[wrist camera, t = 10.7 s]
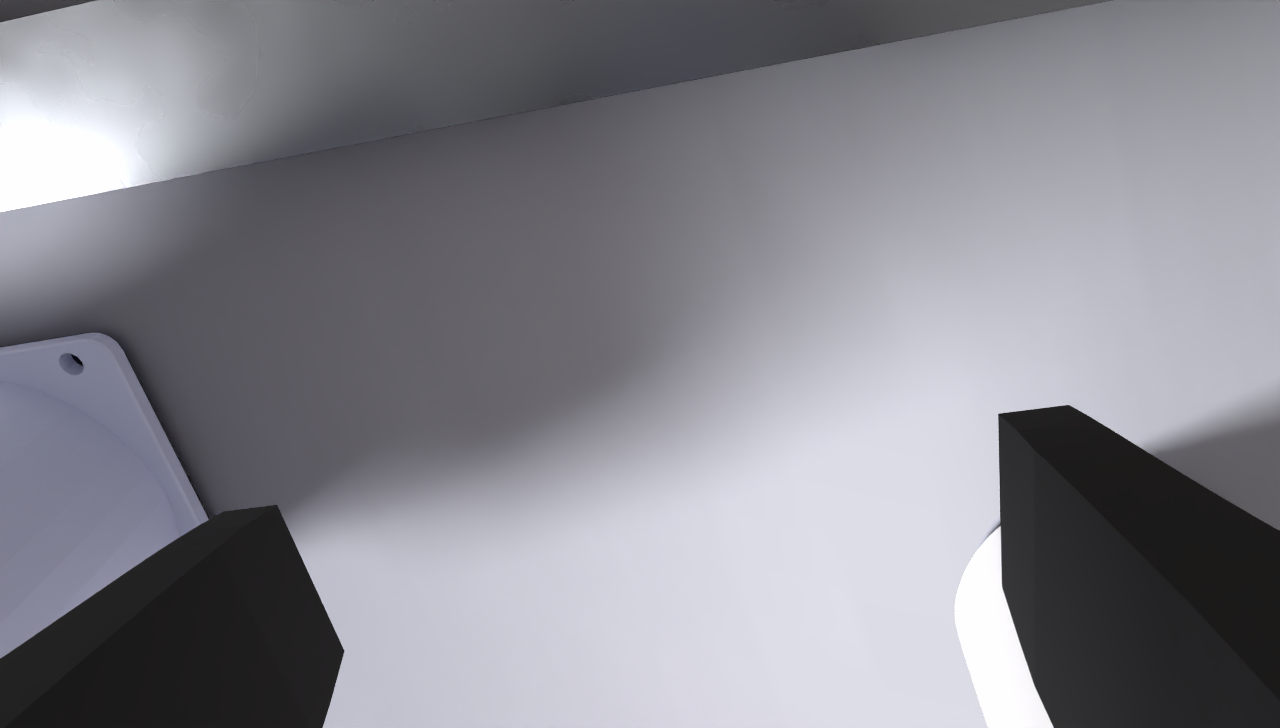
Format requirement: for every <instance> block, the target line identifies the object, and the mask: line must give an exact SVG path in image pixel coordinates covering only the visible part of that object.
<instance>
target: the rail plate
mask: <svg viewBox="0 0 1280 728" xmlns="http://www.w3.org/2000/svg"><path fill="white" fill-rule="evenodd" d="M1106 1H1111V0H96V1H92V2H88V3H83V4H79V5H74V6H70V7H66V8H61V9H57V10H52V11H48V12H44V13H39V14H35V15H30V16H26V17H22V18H17V19H13V20H8V21H4V22H0V212H2V211H7V210H13V209H18V208H23V207H28V206H34V205H39V204H44V203H49V202H55V201H60V200H65V199H70V198H76V197H81V196H86V195H92V194H97V193H102V192H107V191H113V190H118V189H123V188H128V187H134V186H139V185H144V184H149V183H155V182H160V181H165V180H170V179H176V178H181V177H186V176H191V175H197V174H202V173H207V172H212V171H218V170H223V169H228V168H233V167H239V166H244V165H249V164H255V163H260V162H265V161H270V160H276V159H281V158H286V157H291V156H297V155H302V154H307V153H312V152H318V151H323V150H328V149H333V148H339V147H344V146H349V145H354V144H360V143H365V142H370V141H375V140H381V139H386V138H391V137H396V136H402V135H407V134H412V133H417V132H423V131H428V130H433V129H439V128H444V127H449V126H454V125H460V124H465V123H470V122H475V121H481V120H486V119H491V118H496V117H502V116H507V115H512V114H517V113H523V112H528V111H533V110H538V109H544V108H549V107H554V106H559V105H565V104H570V103H575V102H580V101H586V100H591V99H596V98H601V97H607V96H612V95H617V94H623V93H628V92H633V91H638V90H644V89H649V88H654V87H659V86H665V85H670V84H675V83H680V82H686V81H691V80H696V79H701V78H707V77H712V76H717V75H722V74H728V73H733V72H738V71H743V70H749V69H754V68H759V67H764V66H770V65H775V64H780V63H786V62H791V61H796V60H801V59H807V58H812V57H817V56H822V55H828V54H833V53H838V52H843V51H849V50H854V49H859V48H864V47H870V46H875V45H880V44H885V43H891V42H896V41H901V40H906V39H912V38H917V37H922V36H927V35H933V34H938V33H943V32H948V31H954V30H959V29H964V28H970V27H975V26H980V25H985V24H991V23H996V22H1001V21H1006V20H1012V19H1017V18H1022V17H1027V16H1033V15H1038V14H1043V13H1048V12H1054V11H1059V10H1064V9H1069V8H1075V7H1080V6H1085V5H1090V4H1096V3H1101V2H1106Z"/></svg>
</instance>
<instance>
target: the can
mask: <svg viewBox="0 0 1280 728" xmlns="http://www.w3.org/2000/svg"><path fill="white" fill-rule="evenodd" d="M955 622H956V627H957V632H958V636H959V639H960V643H961V646H962V650H963V653H964V656H965V659H966V662H967V665H968V668H969V672H970V675H971V678H972V681H973V684H974V687H975V690H976V693H977V696H978V699H979V702H980V706H981V709H982V712H983V715H984V718H985V721H986V724H987V727H988V728H1054V727H1053V725H1052V723H1051V721H1050V719H1049V717H1048V714H1047V712H1046V710H1045V708H1044V706H1043V703H1042V701H1041V699H1040V697H1039V695H1038V692H1037V690H1036V688H1035V686H1034V683H1033V680H1032V677H1031V674H1030V671H1029V668H1028V665H1027V662H1026V660H1025V657H1024V654H1023V651H1022V648H1021V645H1020V642H1019V639H1018V636H1017V632H1016V629H1015V626H1014V623H1013V620H1012V617H1011V614H1010V610H1009V607H1008V604H1007V601H1006V598H1005V595H1004V592H1003V588H1002V568H1001V525H1000V526H999V527H998V528H997V529H996V530H995V531H994V532H993V533H992V534H991V535H990V536H989V537H988V538H987V539H986V540H985V541H984V542H983V543H982V545H981V546H980V547H979V548H978V550H977V551H976V553H975V554H974V556H973V557H972V559H971V560H970V562H969V564H968V566H967V568H966V570H965V572H964V574H963V577H962V579H961V582H960V585H959V588H958V591H957V595H956V600H955Z"/></svg>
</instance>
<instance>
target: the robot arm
mask: <svg viewBox="0 0 1280 728" xmlns="http://www.w3.org/2000/svg"><path fill="white" fill-rule="evenodd" d="M71 354H73V355H75V356H77V357H78V358H79V359H80V360H81V361H82V363H83V366H81V365H79V364H78V363H76V362H75V361H74V359H73V358H72V356H71ZM998 419H999V469H1000V519H1001V568H1002V588H1003V592H1004V595H1005V598H1006V601H1007V604H1008V607H1009V610H1010V614H1011V617H1012V620H1013V623H1014V626H1015V629H1016V632H1017V636H1018V639H1019V642H1020V645H1021V648H1022V651H1023V654H1024V657H1025V660H1026V662H1027V665H1028V668H1029V671H1030V674H1031V677H1032V680H1033V683H1034V686H1035V688H1036V690H1037V692H1038V695H1039V697H1040V699H1041V701H1042V703H1043V706H1044V708H1045V710H1046V712H1047V714H1048V717H1049V719H1050V721H1051V723H1052V725H1053V727H1054V728H1280V531H1279V530H1277V529H1275V528H1273V527H1272V526H1270V525H1268V524H1266V523H1265V522H1263V521H1261V520H1259V519H1258V518H1256V517H1254V516H1252V515H1251V514H1249V513H1247V512H1246V511H1244V510H1242V509H1240V508H1239V507H1237V506H1235V505H1234V504H1232V503H1230V502H1229V501H1227V500H1225V499H1223V498H1222V497H1220V496H1218V495H1217V494H1215V493H1213V492H1212V491H1210V490H1208V489H1207V488H1205V487H1203V486H1202V485H1200V484H1198V483H1197V482H1195V481H1193V480H1192V479H1190V478H1188V477H1187V476H1185V475H1183V474H1182V473H1180V472H1179V471H1177V470H1175V469H1174V468H1172V467H1170V466H1169V465H1167V464H1166V463H1164V462H1162V461H1161V460H1159V459H1157V458H1156V457H1154V456H1153V455H1151V454H1149V453H1148V452H1146V451H1144V450H1143V449H1141V448H1140V447H1138V446H1136V445H1135V444H1133V443H1132V442H1130V441H1128V440H1127V439H1125V438H1123V437H1122V436H1120V435H1119V434H1117V433H1115V432H1114V431H1112V430H1111V429H1109V428H1107V427H1106V426H1104V425H1102V424H1101V423H1099V422H1097V421H1096V420H1094V419H1092V418H1091V417H1089V416H1087V415H1086V414H1084V413H1082V412H1080V411H1079V410H1077V409H1075V408H1073V407H1071V406H1069V405H1065V406H1057V407H1049V408H1041V409H1033V410H1025V411H1017V412H1009V413H1002V414H998ZM343 654H344V649H343V647H342V645H341V643H340V641H339V638H338V636H337V634H336V632H335V630H334V628H333V625H332V623H331V621H330V619H329V617H328V615H327V612H326V610H325V608H324V606H323V604H322V602H321V599H320V597H319V595H318V593H317V591H316V589H315V586H314V584H313V582H312V580H311V578H310V576H309V573H308V571H307V569H306V567H305V565H304V562H303V560H302V558H301V556H300V554H299V552H298V549H297V547H296V545H295V543H294V541H293V539H292V536H291V534H290V532H289V530H288V528H287V526H286V523H285V521H284V519H283V517H282V515H281V513H280V510H279V508H278V506H277V505H273V506H265V507H257V508H249V509H241V510H233V511H225V512H223V513H221V514H219V515H217V516H215V517H213V518H211V519H210V520H209V519H208V517H207V515H206V513H205V511H204V509H203V507H202V505H201V503H200V501H199V499H198V497H197V495H196V493H195V491H194V489H193V487H192V486H191V484H190V482H189V480H188V478H187V476H186V474H185V472H184V470H183V468H182V466H181V464H180V462H179V460H178V458H177V456H176V454H175V452H174V450H173V448H172V446H171V444H170V442H169V440H168V438H167V436H166V434H165V432H164V430H163V428H162V426H161V424H160V422H159V420H158V418H157V416H156V414H155V412H154V411H153V409H152V407H151V405H150V403H149V401H148V399H147V397H146V395H145V393H144V391H143V389H142V387H141V385H140V383H139V381H138V379H137V377H136V375H135V373H134V371H133V369H132V367H131V365H130V363H129V361H128V359H127V357H126V355H125V353H124V351H123V350H122V348H121V347H120V346H119V344H118V343H117V342H116V341H115V340H113V339H112V338H111V337H109V336H107V335H104V334H101V333H87V334H80V335H74V336H68V337H62V338H56V339H50V340H44V341H38V342H32V343H25V344H19V345H13V346H7V347H1V348H0V728H322V727H323V724H324V721H325V718H326V715H327V711H328V708H329V705H330V702H331V698H332V695H333V691H334V687H335V683H336V680H337V676H338V672H339V669H340V665H341V661H342V657H343Z"/></svg>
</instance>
